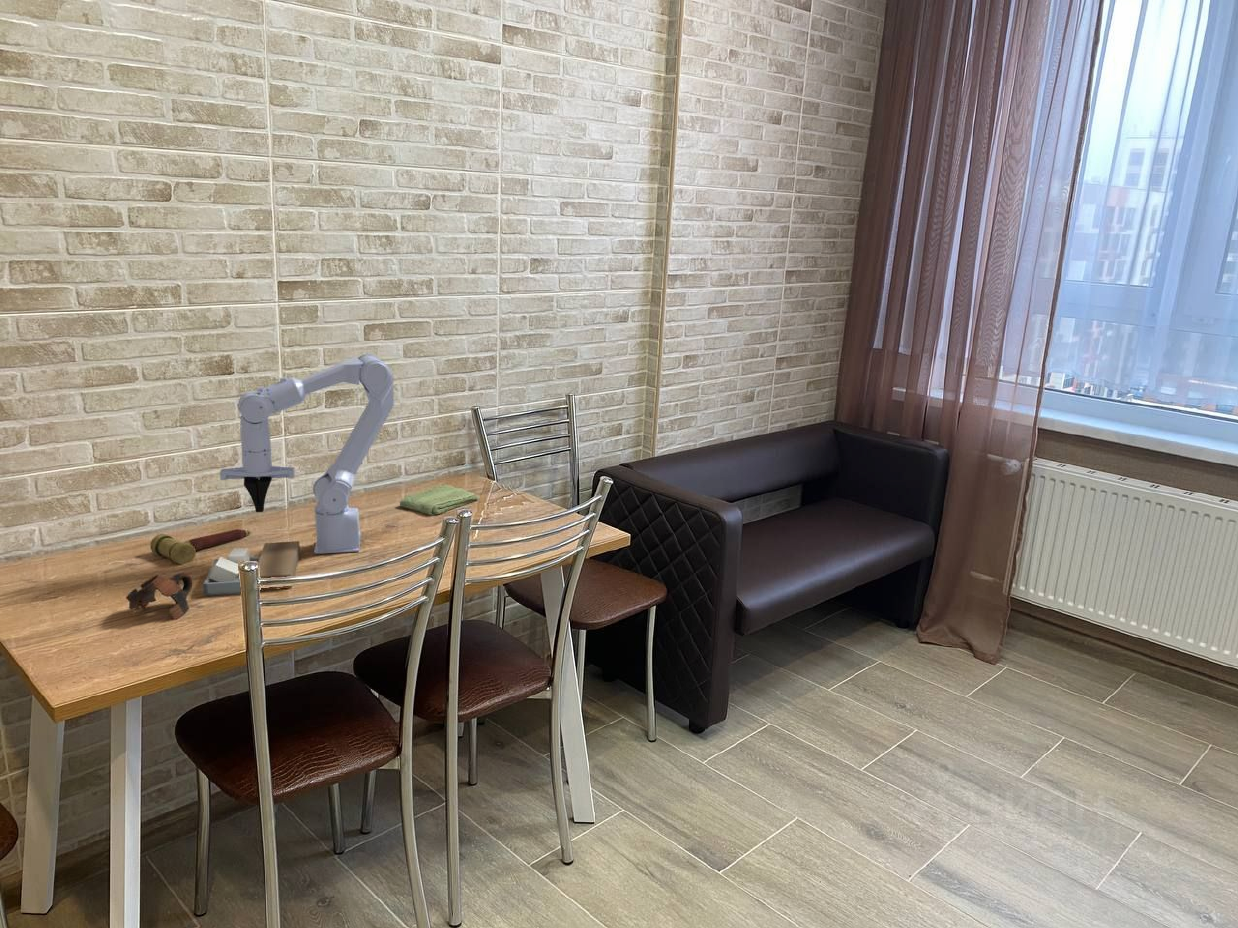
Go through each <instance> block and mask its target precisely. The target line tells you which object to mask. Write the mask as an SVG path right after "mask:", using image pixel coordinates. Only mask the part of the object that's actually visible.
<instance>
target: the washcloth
mask: <svg viewBox="0 0 1238 928" xmlns="http://www.w3.org/2000/svg"><path fill="white" fill-rule="evenodd" d="M479 499H480V496H479V495H477V494H475V493H474V492H470V491H467V490H465V489H464V488H461V487H460V488H459V487H455V486H452V485H450V484H444V485H437V486H434V487H430V488H427V489H424V490H423V491H421V492H416V493H412V494H410V495H406V496H404V497H402V498H401V500H400V501H399V505H400V507H401V508H404V509H409V510H411V511H416V512H420V513H422V514H425V515H428V516H430V517H431V516H433V517H434V516H437V515H440V514H445V513H447V512H449V511H453V510H454V509H457V508H460V507H461V506H462V507H463V506H464V505H468V504H469V503H474V502H476V501H477V500H479Z"/></svg>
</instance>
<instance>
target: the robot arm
mask: <svg viewBox="0 0 1238 928" xmlns="http://www.w3.org/2000/svg"><path fill="white" fill-rule="evenodd" d="M394 382H395V378H394V376H393V373H392V371H391V368H390V367H389V365H388V364H387V363H385V362H384V361H382V360H381V359H380V358H379V357H378V356H377V355H374V354H371V353H365V354H362V355H360V356H358V357H357V356H355V357H350V358H348V359H346V360H344V361H341V362H339V363H336V364H334V365H332V366H329V367H328V368H325V369H322V370H321V371H318V372H316V373H313V374H311V375H308V376H307V377H304V378H302V379H298V378H295V377H293V376H290V377H288V378H287V377H286V376H282V377H280V378H279V381H278V382H275V383H273V384H270V385H267V386H264V387H263V386H258V387H257V388H256V389H257V390H256V391H255V390H250V391H246V392H244V393H242V394H241V396H240V397H239V398H238V402H237V404H236V407H237V410H238V411H239V413H240V414H241V416H240V421H239V422H240V443H241V457H242V466H240V467H230V468H229V467H228V468H221V469H220V471H219V475H220V481H226V480H239V479H242V480H243V486H244V488H245V489H246V491H247V492H248V494H249V495H250V498H251V500H252V503H253V504H254V507H255V509H254V510H255V513H264V510H265V501H266V497H267V494H268V490H269V488H270V484H271V482H272V480H273V479H281V478H282V479H283V478H284V479H286V478H288V479H295V467H293V466H292V467H291V466H290V467H286V466H274V465H272V447H271V446H272V445H271V431H270V426H269V417H270V415H271V414H277V413H279V412H282V411H285V410H288V409H289V408H292V407H294V406H297V405H300V404H302V403H303V402H304V401H305V398H306V397H307V395H309V394H312V393H315V392H318V391H320V390H323V389H326V388H329V387H333V386H334V385H335V386H336V385H339V384H342V383H348V384H352V385H356V386H359V385H360V384H361V385H362V386H363V388H364V391H365V395H366V397H367V400H368V402H367V404H366V406H365V407H364V409H363V411H362V413H361V414H360V417H359V418H358V420H357V422H356V424H355V425H354V427H353V429H352V431H351V433H350V434H349V436H348V438H347V440H346V441H345V443H344V445H343V447H342V448H341V450H340V452H339V454H338V455H337V457H336V459H335V461H334V462H333V464H332V465H330V466H329V467H328V468H327V469H326V471H325V473H324V474H323V475H321V476H320V477H318V478H317V479H316V481H315V482H313V483H314V484H313V487H312V491H313V492H312V493H313V495H314V496H315V498H316V499H317V504H316V505H315V506H314V518H315V519H314V520H315V533H316V541H315V546H314V549H313V550H314V551H313V553H314V555H317V554H318V555H319V554H336V553H351V552H352V553H353V552H359V551H360V547H361V546H360V543H361V540H362V533H361V532H360V519H359V517H360V516H359V508H358V507H349V506H350V505H349V502H350V493H351V491H352V489H353V486H354V482H355V476H356V474H357V472H358V470H359V468H360V467H361V465H362V463H363V462H364V459H365V458H366V456H367V454H368V453H369V451H370V449H371V447H372V445H373V444H374V441H375V440H376V438H377V437H378V436H379V433H380V431H381V430H382V428H383V426H384V425H385V423H386V421H387V419H388V418H389V415H390V413H391V412H392V410H393V408H394V406H395V399H394V398H395V396H394V393H395V392H394Z"/></svg>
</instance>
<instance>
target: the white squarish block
mask: <svg viewBox="0 0 1238 928" xmlns="http://www.w3.org/2000/svg"><path fill="white" fill-rule="evenodd" d="M218 559H219V560H218V562H217V563H216V565H215V567H214V569H213V571H212V573H211V575H210V577H209V578H210V579H213V580H215V581H218V582H229V581H235V579H236V577H237V575H238V573H239V571H238V564H237V563H234V562H232V561H229V560H227V559H228V558H225V557H221V556H220V557H219V558H218Z"/></svg>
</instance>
